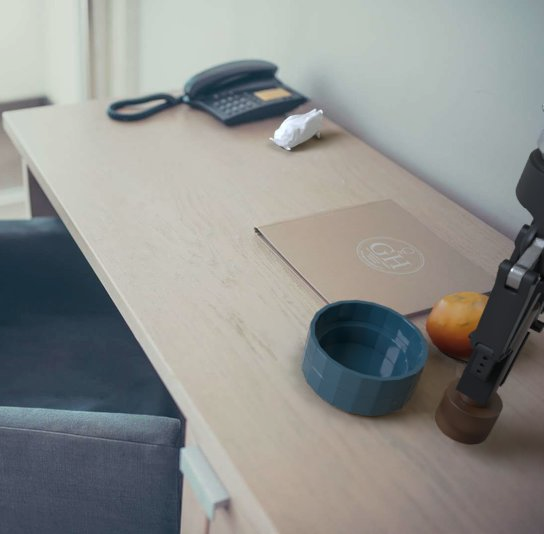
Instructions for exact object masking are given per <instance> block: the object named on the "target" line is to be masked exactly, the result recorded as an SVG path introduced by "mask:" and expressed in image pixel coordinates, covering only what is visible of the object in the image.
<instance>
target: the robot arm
mask: <svg viewBox="0 0 544 534" xmlns="http://www.w3.org/2000/svg"><path fill="white" fill-rule="evenodd" d="M541 110H542V112H544V103H542V106H541ZM536 146H537V148H535V149H533V150H532V151H531V152H530V153H529V155H528V158H527V160H526V163H525V165H524V167H523V170H522V172H521V175H520V177H519V179H518V181H517V184H516V187H515V196H516V200H517V201H518V203H519V204H520V206H521V207H523V209H525V210H526V211H527V212H528V213H529V214H530V215H531V217H532V218H533V219H532V220H531V222H530V224H527V223H525V224H523V225H522V227H521V228H520V230H519V232H518V234H517V235H516V238H515V239H514V241H513V242H514V243H513V244H514V249H513V251H512V253H511V255H510V258H509V259H508V258H505V259H503V260H502V261H501V262H500V263H499V265H498V267H497V268H498V269H497V272H496V276H495V281H494V284H493V286H492V289H491V291H490V294H489V296H488V297H489V299H488V301H487V303H486V306H485V308H484V311H483V313H482V316H481V318H480V320H479V323H478V325H477V328H476V330H474V331H472V332H471V333H470V334H469V335H468V338H470V339H471V340H470V344H469V347H471V348H473V349H474V350H473V352H472V354H471V356H470V358H469V361H467V363H466V365H465V367H464V369H463V372H462V374H461V376H460V377H459V378H460V380H459V382H458V384H457V387H456V390H458V391H459V392H461V393H463V394H464V395H466V396H468V397H469V398H471V399H473V400H474V401H476V402H478V403H479V404H481V405H483V406H484V405H485V404H486V403H487V402H488V400H489V398H490V396H491V394H492V392H493V390H494V388H495V386H496V384H497V382H498V380H499V378H500V376H501V375H502V373H503V371H504V369H505V367H506V365H507V363H508V361H509V359H510V357H511V355H512V353H513V350H511V348H512V346H513V344H514V342H515V340H516V339H517V337H518V335H519V333H520V331H521V329H522V327H523V326H524V324H525V322H526V320H527V318H528V316H529V315H530V313H531V311H532V309H533V307H534V305H535V304H536V302H537V300H538V302H539V304H540V308H539V310H538V312H537V314H536V316H535V318H534V320H533V322H532V324H531V326H530V328H529V330H532V331H534V332H535V333H538V334H541V332H543V330H544V321H542V320H540V319H539V317H540V315H543V314H544V124H543V125H542V127H541V129H540V132H539V134H538V137H537V139H536ZM529 330H528V332H527V334H526V335H525V337H524V339H523V341H522V343H521V345H520V347H519V349H518V351H517V353H516V355H515V357H514V359H513V361H512V363H511V364H510V366H509V368H508V370H507V372H506V374H505V376H504V378H503V380H502V382H501V384H500V386H499V388H500V387H501V388H502V386H503V385H504V384H505V382H506V380H507V378H508V377H509V375H510V373H511V371H512V369H513V367H514V365H515V363H516V362H517V359H518V357H519V356H520V354H521V351H522V350H523V348H524V346H525V344H526V343H527V340H528V338H529V336H530V335H531V332H530V331H529Z"/></svg>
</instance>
